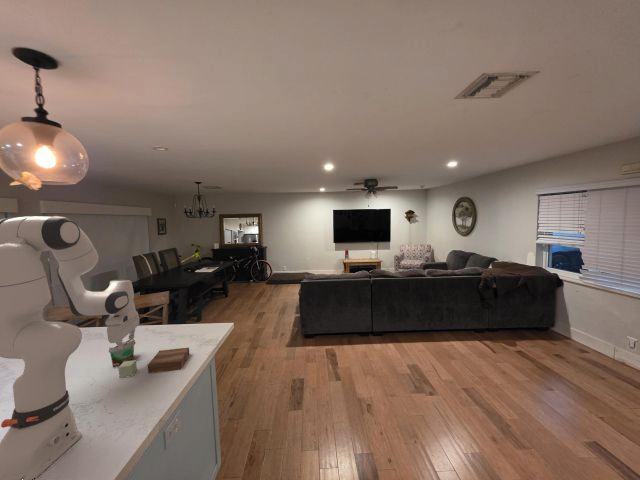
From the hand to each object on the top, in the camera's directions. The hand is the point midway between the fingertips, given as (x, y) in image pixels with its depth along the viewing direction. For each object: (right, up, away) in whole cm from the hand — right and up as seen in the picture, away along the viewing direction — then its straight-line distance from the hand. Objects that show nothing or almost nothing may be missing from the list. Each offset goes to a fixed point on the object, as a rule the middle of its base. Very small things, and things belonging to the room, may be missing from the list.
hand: (126, 343), depth 122 cm
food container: (-8, -14, +11) cm, 20 cm away
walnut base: (+15, -13, +9) cm, 22 cm away
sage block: (0, -14, +1) cm, 14 cm away
